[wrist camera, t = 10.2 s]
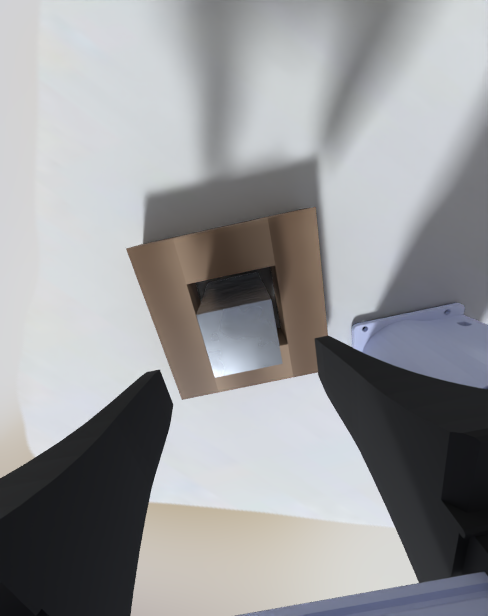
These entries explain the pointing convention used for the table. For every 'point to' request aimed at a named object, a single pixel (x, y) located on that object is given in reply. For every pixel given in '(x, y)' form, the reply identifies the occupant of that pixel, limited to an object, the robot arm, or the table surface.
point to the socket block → (227, 261)
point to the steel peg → (238, 325)
